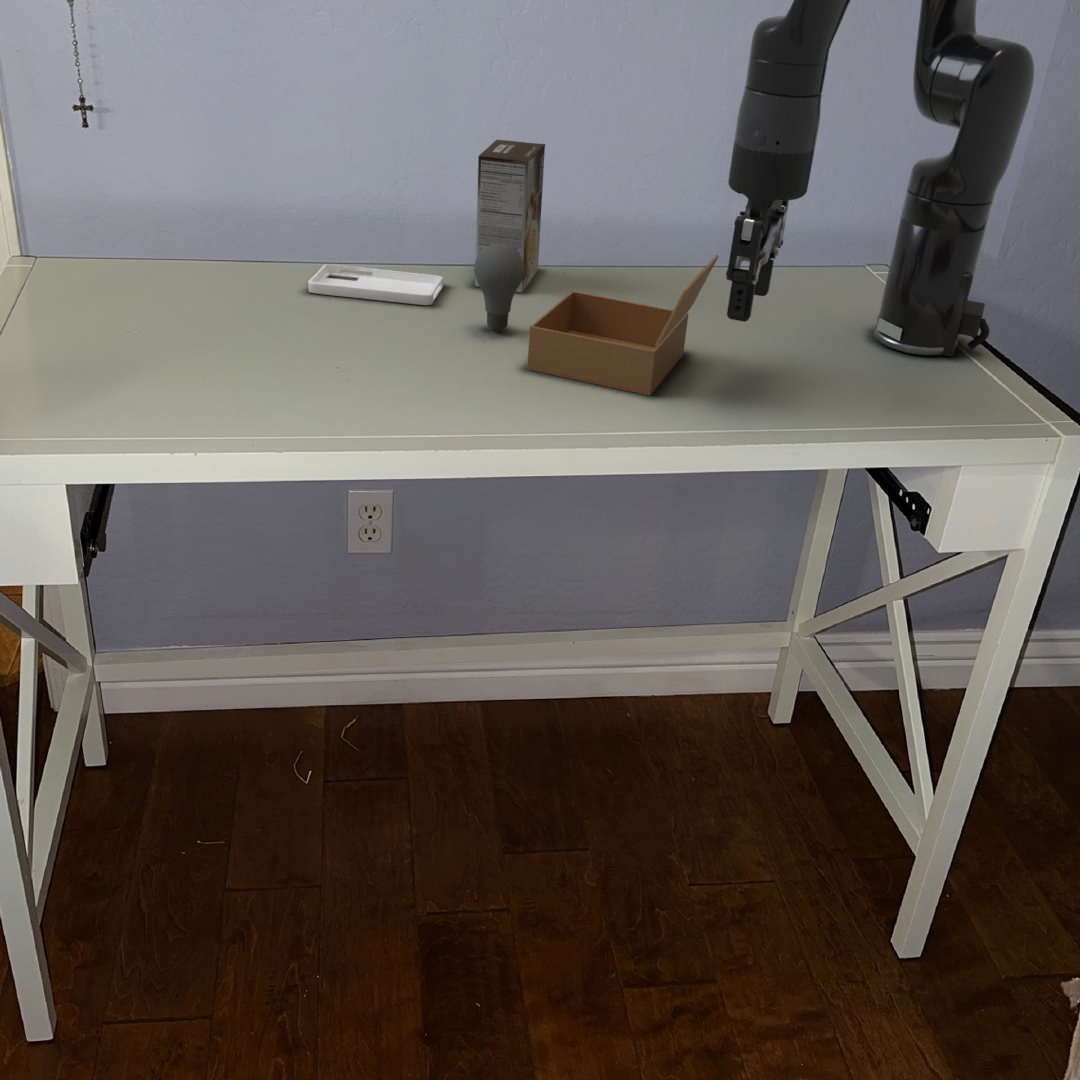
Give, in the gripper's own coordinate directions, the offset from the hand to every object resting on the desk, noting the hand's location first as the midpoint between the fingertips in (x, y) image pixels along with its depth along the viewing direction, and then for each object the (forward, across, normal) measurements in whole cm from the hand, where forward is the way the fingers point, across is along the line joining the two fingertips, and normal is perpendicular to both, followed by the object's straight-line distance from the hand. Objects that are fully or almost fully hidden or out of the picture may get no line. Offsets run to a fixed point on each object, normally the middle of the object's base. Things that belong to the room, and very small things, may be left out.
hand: (747, 306), depth 117 cm
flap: (0, 0, +6) cm, 6 cm away
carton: (+9, 0, +14) cm, 17 cm away
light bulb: (+9, +2, +28) cm, 30 cm away
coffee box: (+9, +19, +34) cm, 40 cm away
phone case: (+9, +7, +46) cm, 48 cm away
